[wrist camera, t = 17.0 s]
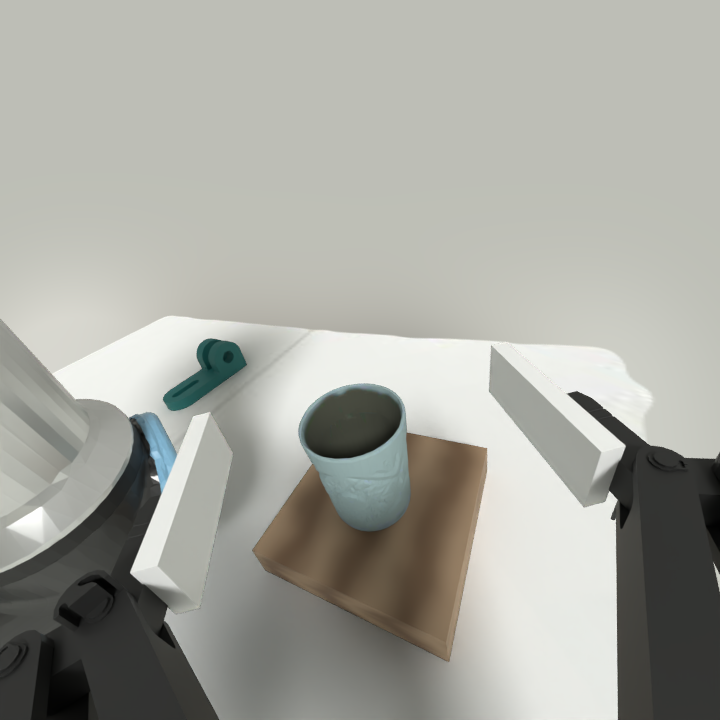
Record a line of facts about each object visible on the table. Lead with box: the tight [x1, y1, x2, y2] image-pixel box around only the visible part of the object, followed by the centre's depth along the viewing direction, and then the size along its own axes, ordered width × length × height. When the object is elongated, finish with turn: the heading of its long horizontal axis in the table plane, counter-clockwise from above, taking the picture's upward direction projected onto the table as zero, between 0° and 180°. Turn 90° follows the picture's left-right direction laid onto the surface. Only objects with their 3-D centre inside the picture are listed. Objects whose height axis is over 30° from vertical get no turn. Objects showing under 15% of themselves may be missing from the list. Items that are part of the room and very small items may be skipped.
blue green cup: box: [299, 384, 411, 532], centre depth 34 cm, size 10×10×12 cm
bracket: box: [163, 339, 247, 411], centre depth 72 cm, size 18×7×8 cm, turn 148°
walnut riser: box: [252, 433, 487, 662], centre depth 38 cm, size 20×20×4 cm
